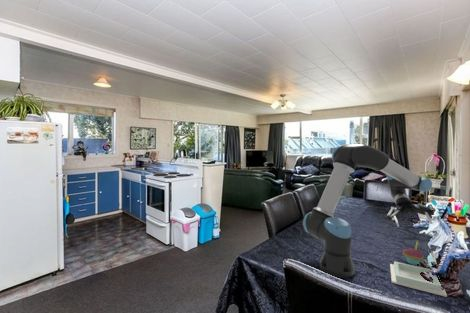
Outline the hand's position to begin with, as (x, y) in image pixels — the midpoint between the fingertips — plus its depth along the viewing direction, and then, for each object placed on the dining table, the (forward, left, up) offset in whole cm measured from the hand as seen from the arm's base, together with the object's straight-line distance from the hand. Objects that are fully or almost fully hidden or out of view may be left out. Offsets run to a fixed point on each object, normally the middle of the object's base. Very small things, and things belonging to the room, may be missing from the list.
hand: (414, 223), depth 115 cm
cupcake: (+1, +3, -22) cm, 22 cm away
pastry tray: (-1, -15, -21) cm, 26 cm away
